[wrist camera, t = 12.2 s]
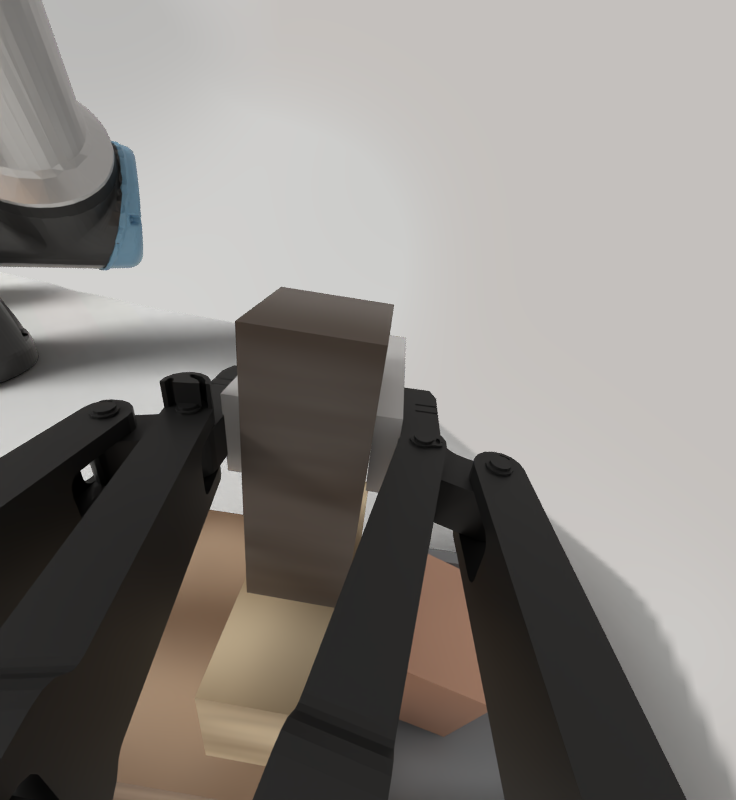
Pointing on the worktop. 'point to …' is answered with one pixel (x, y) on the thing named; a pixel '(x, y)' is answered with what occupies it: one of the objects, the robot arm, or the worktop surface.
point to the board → (188, 683)
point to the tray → (445, 756)
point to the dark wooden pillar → (293, 503)
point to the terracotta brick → (442, 657)
